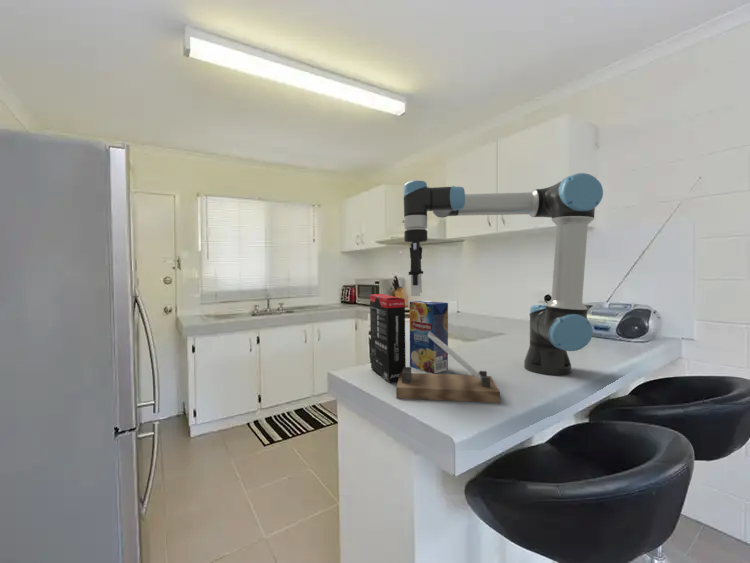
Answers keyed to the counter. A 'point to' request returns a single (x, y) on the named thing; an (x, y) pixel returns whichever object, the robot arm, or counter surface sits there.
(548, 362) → the robot arm
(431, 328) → the juice carton
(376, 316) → the graphics card box
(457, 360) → the latch bar
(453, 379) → the plate
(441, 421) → the counter surface
